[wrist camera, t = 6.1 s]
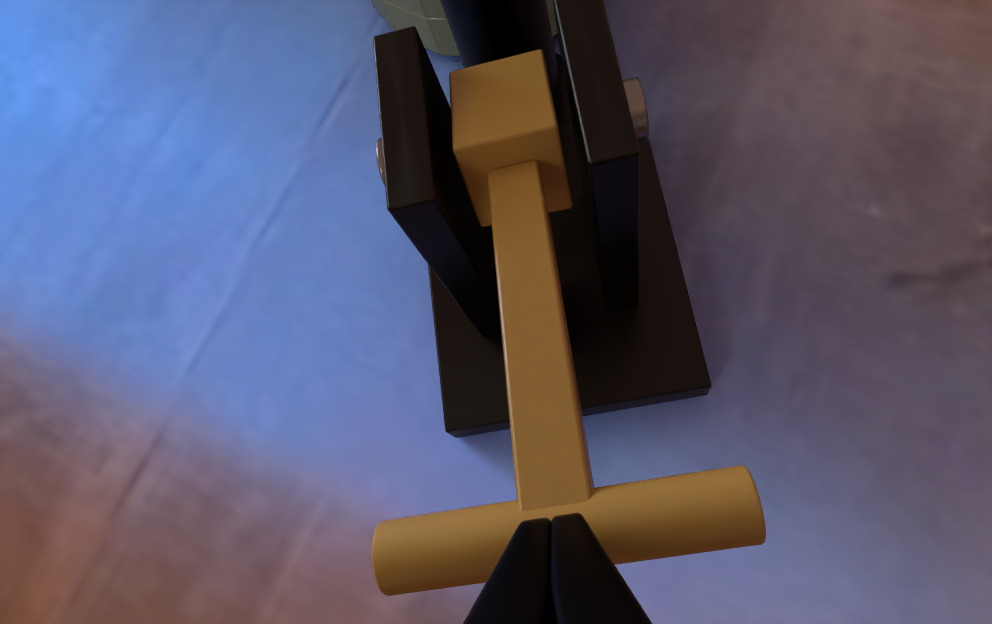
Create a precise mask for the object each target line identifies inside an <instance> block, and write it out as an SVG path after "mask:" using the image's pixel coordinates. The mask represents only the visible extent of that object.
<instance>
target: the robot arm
mask: <svg viewBox="0 0 992 624" xmlns="http://www.w3.org/2000/svg"><path fill="white" fill-rule="evenodd" d="M463 624H652V623H651V621H650V619H649V618H648V616H647V615H646V613H645V612H644V610H643V609H642V607H641V605H640V604H639V602H638V601H637V599H636V598H635V596H634V595H633V593H632V591H631V590H630V588H629V587H628V585H627V584H626V582H625V581H624V579H623V577H622V576H621V574H620V573H619V571H618V570H617V568H616V567H615V565H614V563H613V562H612V560H611V559H610V557H609V556H608V554H607V553H606V551H605V549H604V548H603V546H602V545H601V543H600V542H599V540H598V539H597V537H596V535H595V534H594V532H593V531H592V529H591V528H590V526H589V525H588V523H587V521H586V520H585V518H584V517H583V516H582V515H581V514H580V513H571V514H564V515H558V516H554V517H553V518H552V521H551V520H550V519H549V518H546V517H544V518H538V519H531V520H525V521H522V522H521V523H520V524H519V525H518V527H517V529H516V531H515V532H514V534H513V536H512V538H511V540H510V541H509V543H508V545H507V547H506V548H505V550H504V552H503V554H502V555H501V557H500V559H499V561H498V563H497V564H496V566H495V568H494V570H493V571H492V573H491V575H490V577H489V579H488V580H487V582H486V584H485V586H484V587H483V589H482V591H481V593H480V595H479V596H478V598H477V600H476V602H475V603H474V605H473V607H472V609H471V611H470V612H469V614H468V616H467V618H466V619H465V621H464V623H463Z"/></svg>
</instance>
